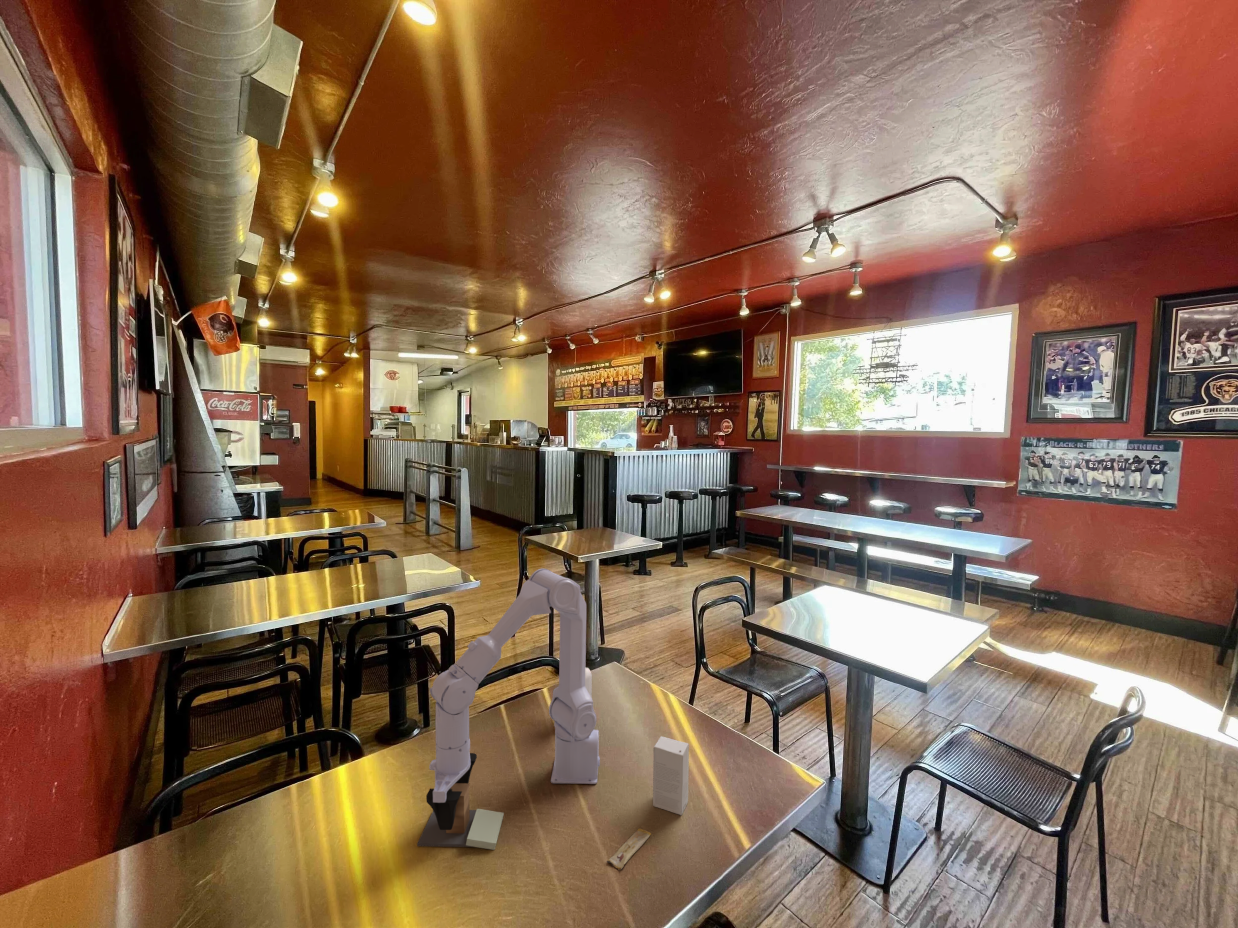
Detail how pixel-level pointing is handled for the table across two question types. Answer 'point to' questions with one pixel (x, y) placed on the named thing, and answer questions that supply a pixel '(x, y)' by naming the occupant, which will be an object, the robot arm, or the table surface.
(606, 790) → the table surface
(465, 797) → the oak push block
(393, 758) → the table surface
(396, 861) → the table surface
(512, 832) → the table surface
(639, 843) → the snack bar
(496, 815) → the sage tile
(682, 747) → the skincare box
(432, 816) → the mat
